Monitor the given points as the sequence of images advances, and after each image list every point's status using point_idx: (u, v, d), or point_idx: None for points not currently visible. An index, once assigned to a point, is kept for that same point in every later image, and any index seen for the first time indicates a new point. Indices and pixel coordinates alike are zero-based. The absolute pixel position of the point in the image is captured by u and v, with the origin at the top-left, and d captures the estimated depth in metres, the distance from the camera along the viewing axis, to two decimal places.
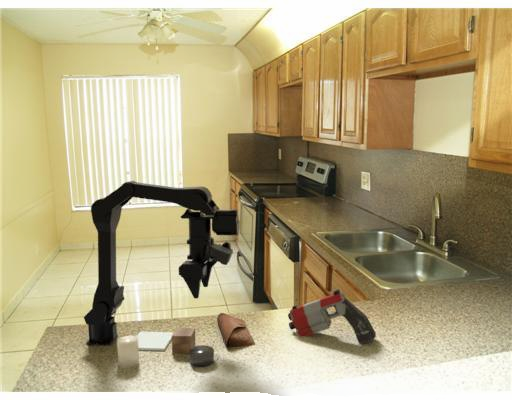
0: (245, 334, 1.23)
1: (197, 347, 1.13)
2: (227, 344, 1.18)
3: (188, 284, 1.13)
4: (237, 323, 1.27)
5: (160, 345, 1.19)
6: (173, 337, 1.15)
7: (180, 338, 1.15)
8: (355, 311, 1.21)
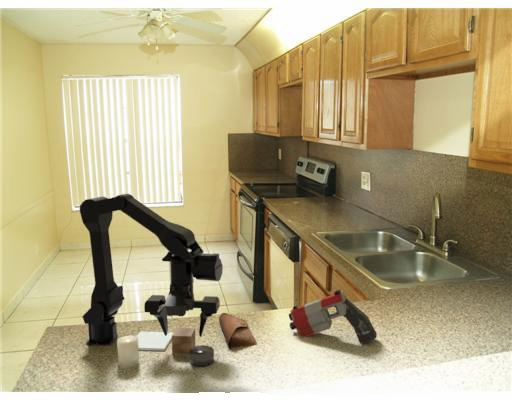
0: (247, 334, 1.23)
1: (197, 347, 1.13)
2: (229, 344, 1.18)
3: None
4: (239, 323, 1.27)
5: (160, 345, 1.19)
6: (173, 337, 1.15)
7: (180, 338, 1.15)
8: (356, 311, 1.21)
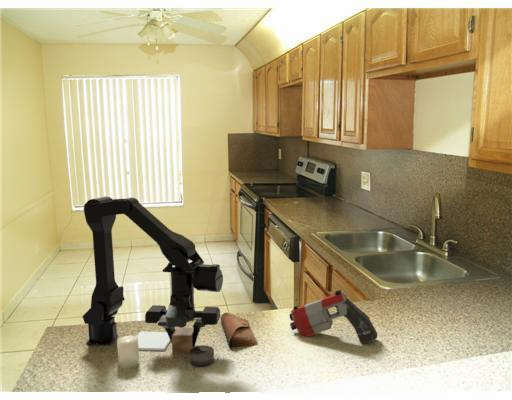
0: (248, 334, 1.23)
1: (197, 347, 1.13)
2: (230, 344, 1.18)
3: None
4: (240, 323, 1.27)
5: (160, 345, 1.19)
6: (173, 337, 1.15)
7: (180, 338, 1.15)
8: (357, 311, 1.21)
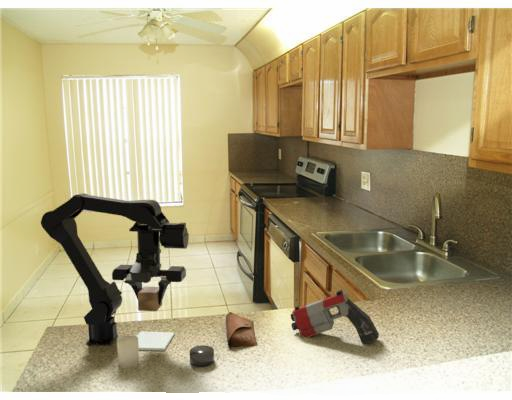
0: (248, 334, 1.23)
1: (197, 347, 1.13)
2: (229, 343, 1.19)
3: None
4: (242, 323, 1.27)
5: (160, 345, 1.19)
6: (139, 294, 1.18)
7: (146, 295, 1.18)
8: (358, 311, 1.21)
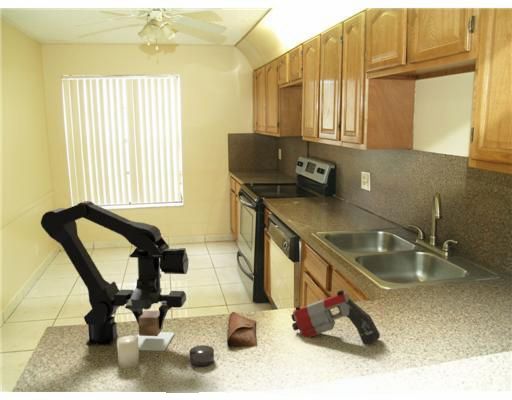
0: (249, 335, 1.22)
1: (197, 347, 1.13)
2: (228, 343, 1.19)
3: None
4: (244, 323, 1.27)
5: (160, 345, 1.19)
6: (140, 319, 1.19)
7: (147, 320, 1.19)
8: (359, 312, 1.20)
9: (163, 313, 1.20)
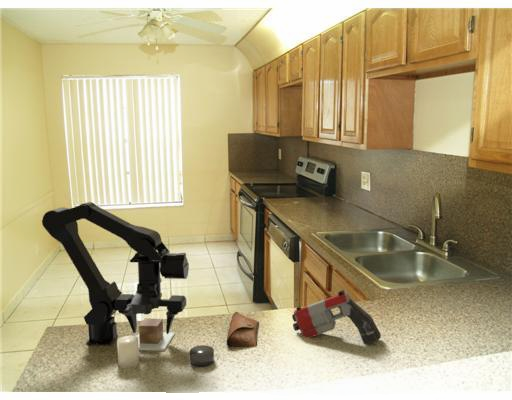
0: (249, 335, 1.22)
1: (197, 347, 1.13)
2: (227, 343, 1.19)
3: None
4: (245, 323, 1.27)
5: (160, 345, 1.19)
6: (140, 327, 1.20)
7: (147, 328, 1.19)
8: (360, 312, 1.20)
9: (170, 318, 1.20)
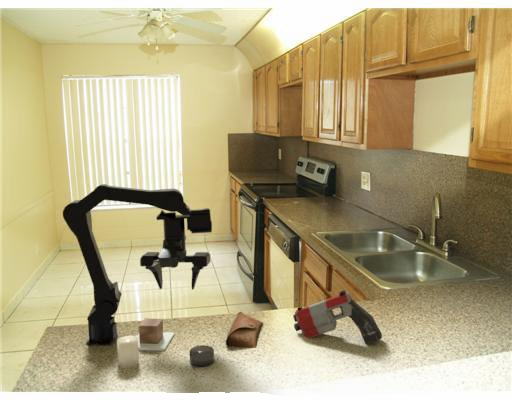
0: (249, 335, 1.22)
1: (197, 347, 1.13)
2: (226, 342, 1.19)
3: None
4: (247, 323, 1.27)
5: (160, 345, 1.19)
6: (140, 327, 1.20)
7: (147, 328, 1.19)
8: (361, 312, 1.20)
9: (196, 273, 1.23)
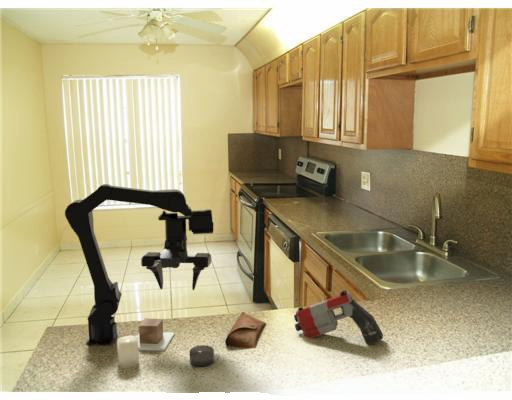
0: (249, 336, 1.22)
1: (197, 347, 1.13)
2: (226, 342, 1.19)
3: None
4: (248, 324, 1.27)
5: (160, 345, 1.19)
6: (140, 327, 1.20)
7: (147, 328, 1.19)
8: (362, 312, 1.20)
9: (196, 274, 1.24)
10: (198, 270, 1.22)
